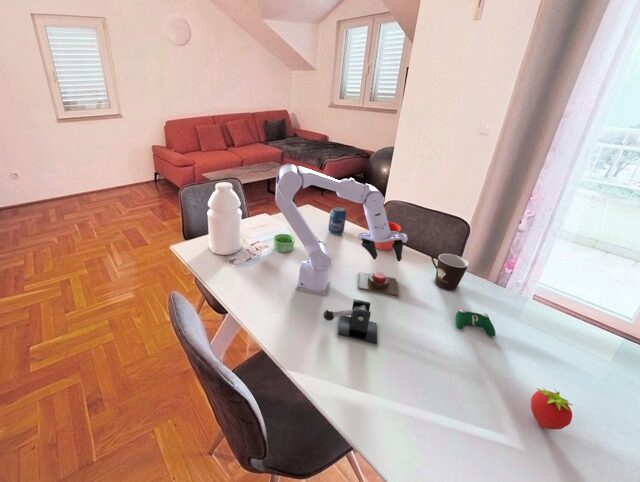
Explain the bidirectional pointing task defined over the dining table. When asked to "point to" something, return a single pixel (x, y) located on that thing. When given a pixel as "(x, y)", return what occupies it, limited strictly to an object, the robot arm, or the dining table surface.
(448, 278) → the coffee mug
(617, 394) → the dining table surface
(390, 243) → the flower pot
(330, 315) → the lever
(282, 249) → the ramekin
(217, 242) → the bottle
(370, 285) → the button block
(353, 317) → the bracket
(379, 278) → the button
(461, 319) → the gaming controller
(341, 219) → the soda can
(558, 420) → the strawberry
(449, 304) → the dining table surface
